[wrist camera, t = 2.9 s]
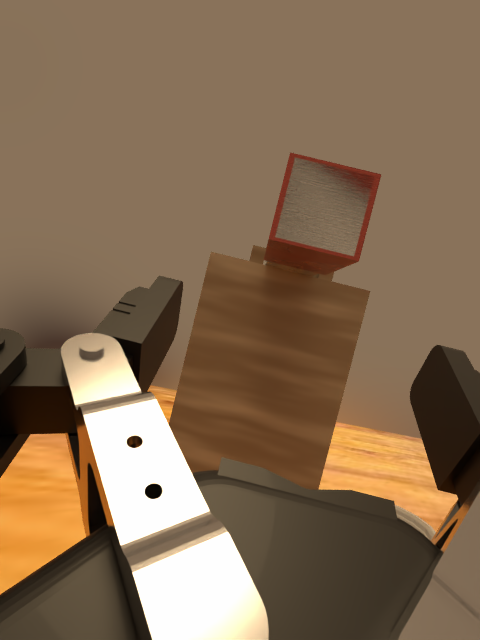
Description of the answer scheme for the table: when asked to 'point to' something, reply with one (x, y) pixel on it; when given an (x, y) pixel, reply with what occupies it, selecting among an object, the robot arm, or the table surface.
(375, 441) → the table surface
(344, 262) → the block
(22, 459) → the table surface
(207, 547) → the robot arm
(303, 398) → the stand
